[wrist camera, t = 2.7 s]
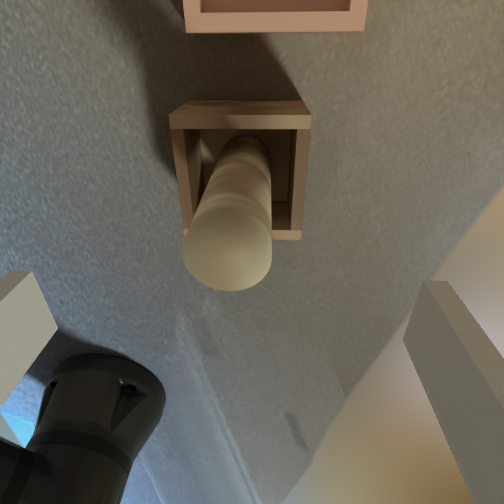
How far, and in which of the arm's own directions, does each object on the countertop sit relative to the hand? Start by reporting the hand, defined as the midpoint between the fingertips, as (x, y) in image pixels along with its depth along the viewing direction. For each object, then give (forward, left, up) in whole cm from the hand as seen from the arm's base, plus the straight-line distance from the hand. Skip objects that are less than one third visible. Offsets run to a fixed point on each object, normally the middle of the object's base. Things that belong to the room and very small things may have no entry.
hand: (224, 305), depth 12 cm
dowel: (0, 0, -18) cm, 18 cm away
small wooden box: (0, 0, -18) cm, 18 cm away
